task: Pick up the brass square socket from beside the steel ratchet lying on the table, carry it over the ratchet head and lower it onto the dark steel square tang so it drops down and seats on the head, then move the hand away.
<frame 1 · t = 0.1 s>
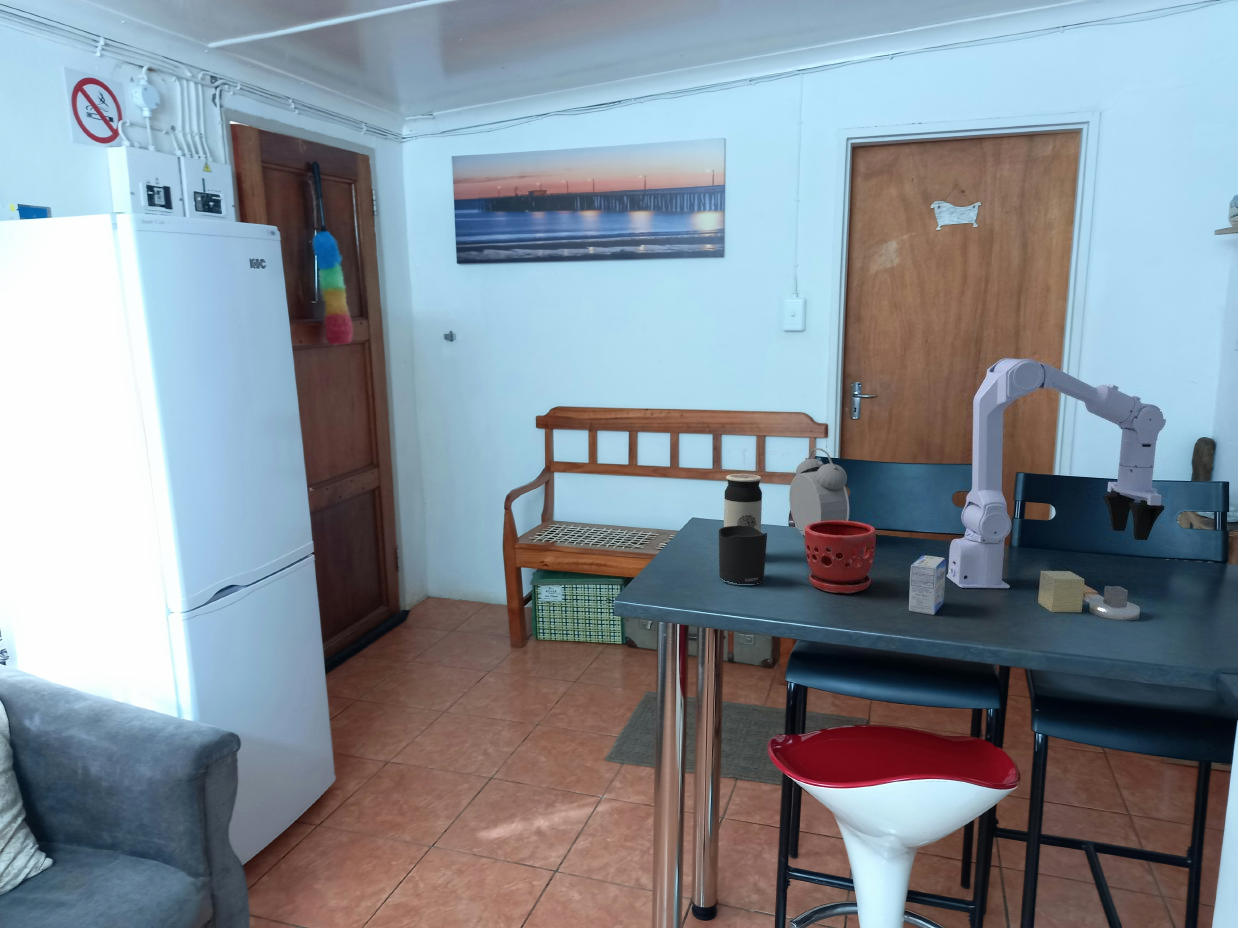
hand: (1129, 534, 166), 10 cm above the table, tool pointing down, fingers open, 7 cm apart
pen holder: (741, 581, 169), on the table
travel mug: (741, 559, 186), on the table
plant pot: (837, 588, 165), on the table
medicine box: (926, 608, 153), on the table
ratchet: (1113, 613, 150), on the table
socket: (1059, 607, 153), on the table
alarm clock: (816, 540, 203), on the table
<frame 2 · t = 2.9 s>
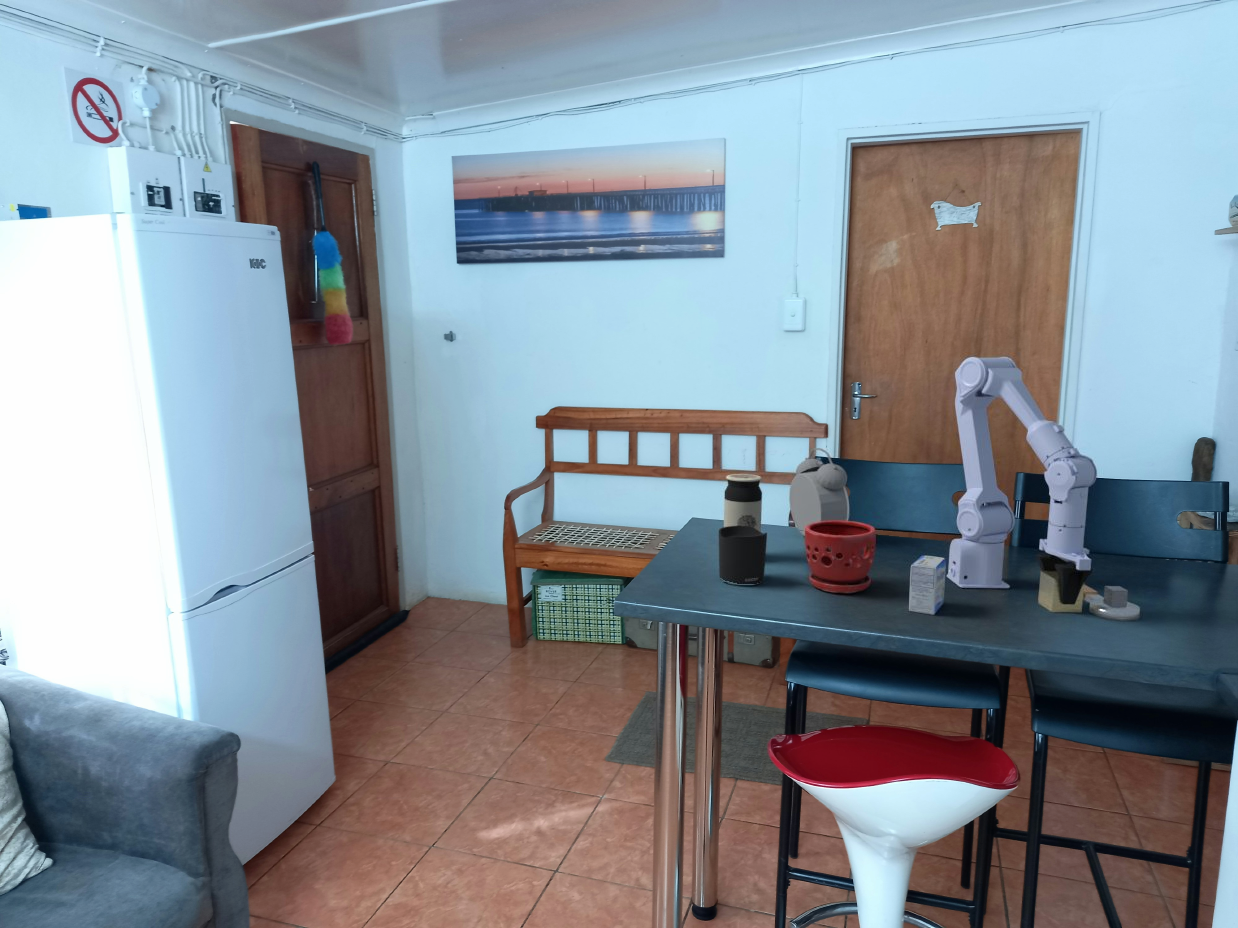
hand: (1060, 598, 153), 2 cm above the table, tool pointing down, fingers closed on socket, 5 cm apart
socket: (1059, 607, 153), on the table, touching gripper
everything else where it was.
when the fingers open (5 cm above the table, at t = 6.3 s): socket drops 2 cm, resting on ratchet.
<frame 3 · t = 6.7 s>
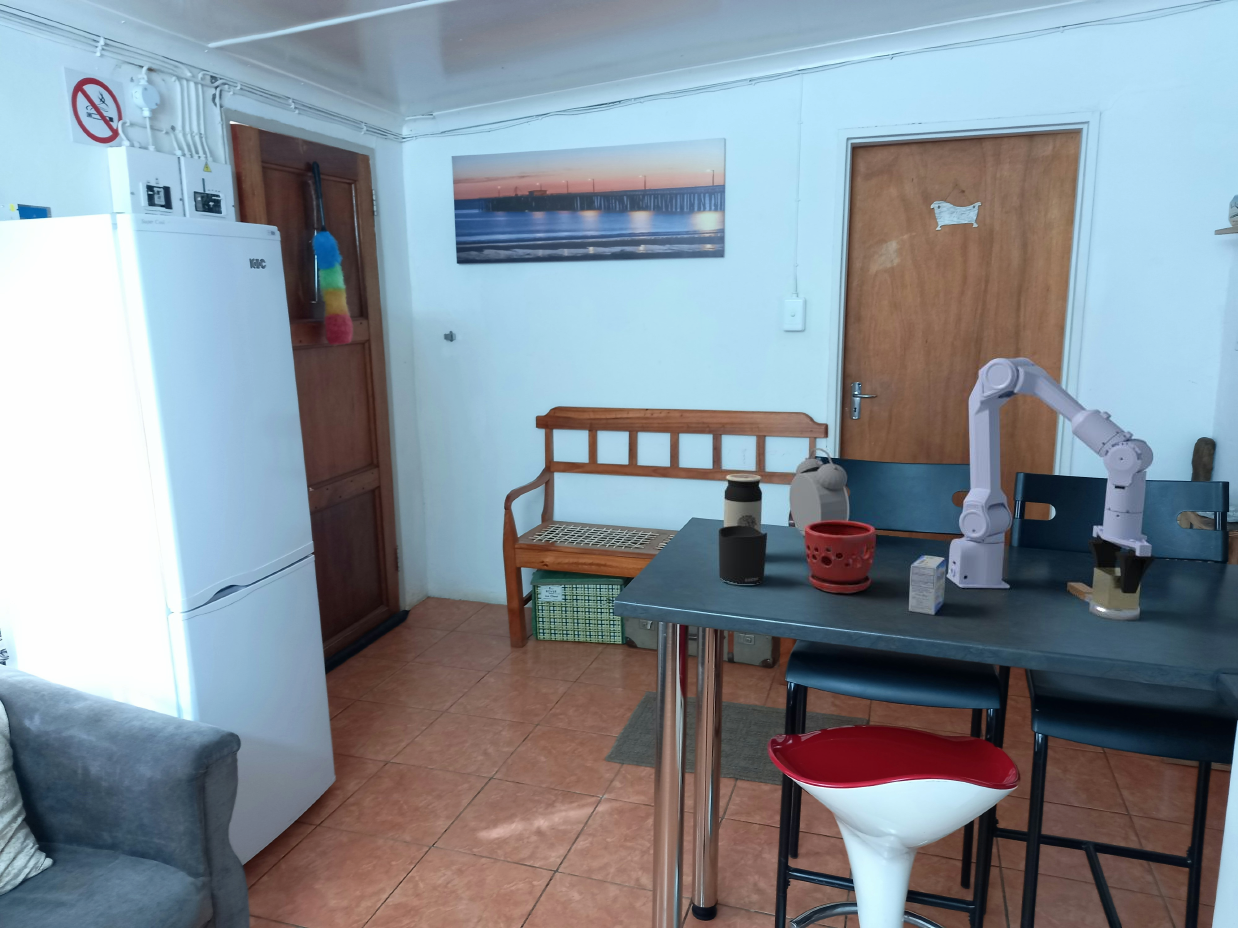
hand: (1116, 586, 149), 5 cm above the table, tool pointing down, fingers open, 7 cm apart
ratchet: (1113, 613, 150), on the table, touching socket
socket: (1114, 604, 150), point 2 cm above the table, touching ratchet
everything else where it was.
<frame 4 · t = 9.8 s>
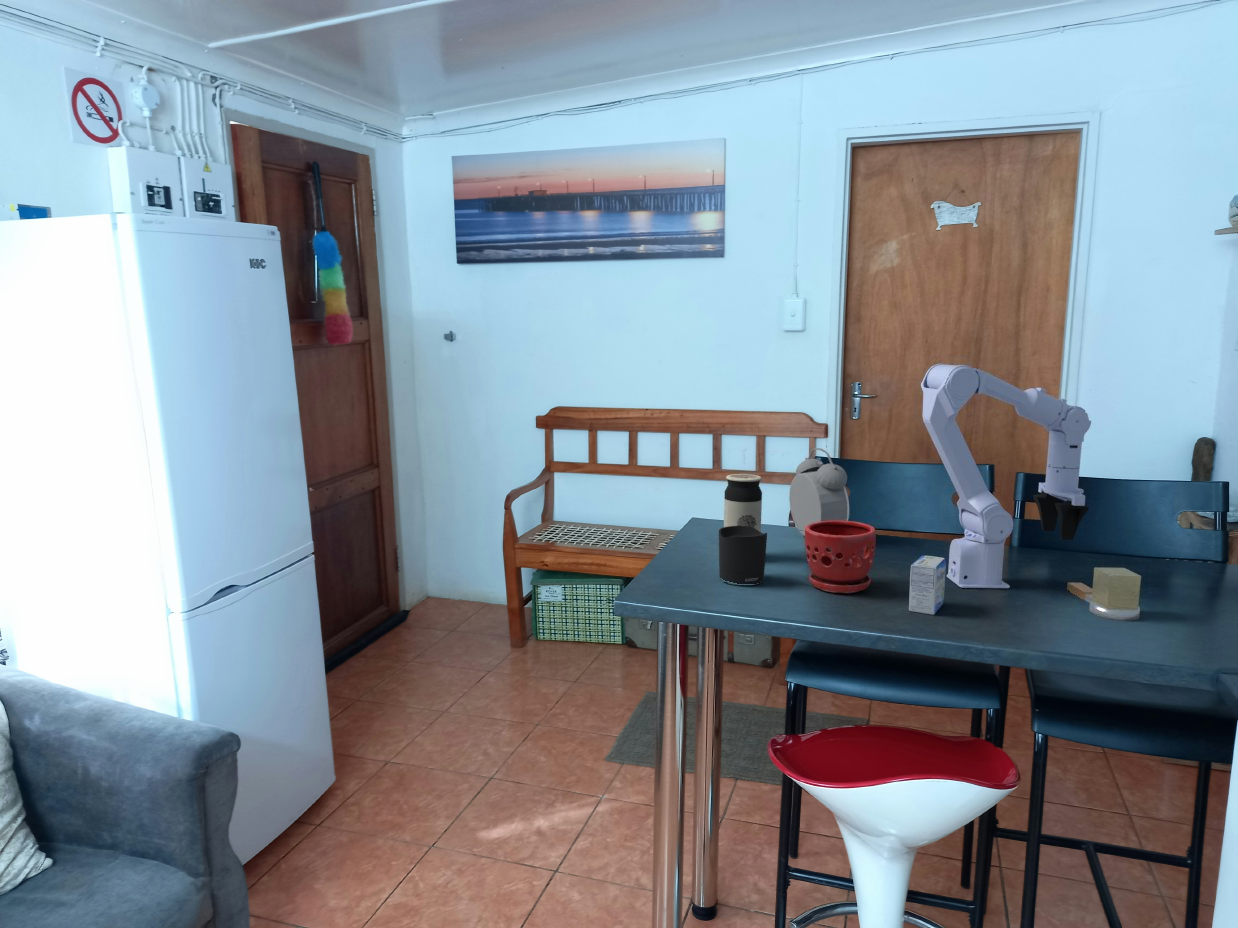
hand: (1057, 534, 168), 9 cm above the table, tool pointing down, fingers open, 7 cm apart
nothing on the table moved.
at the end: socket 0.1 cm from the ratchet (horizontally); socket point 1.6 cm above the table; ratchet moved 0.0 cm from its start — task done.
